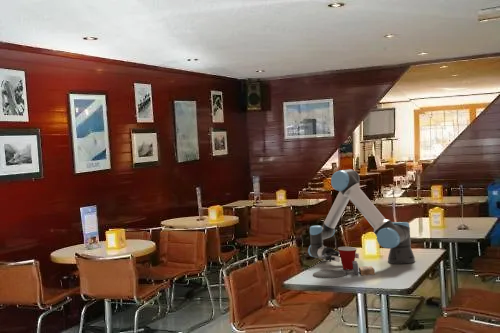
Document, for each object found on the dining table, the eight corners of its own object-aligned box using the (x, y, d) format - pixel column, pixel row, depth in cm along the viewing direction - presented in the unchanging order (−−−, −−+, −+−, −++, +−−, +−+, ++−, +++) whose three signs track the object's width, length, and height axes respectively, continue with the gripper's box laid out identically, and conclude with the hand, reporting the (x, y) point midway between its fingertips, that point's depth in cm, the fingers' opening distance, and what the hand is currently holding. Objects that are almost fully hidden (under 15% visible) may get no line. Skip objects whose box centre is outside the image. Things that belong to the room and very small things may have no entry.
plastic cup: (358, 270, 309) (356, 248, 309) (338, 271, 311) (337, 249, 311) (358, 266, 320) (357, 245, 320) (339, 267, 322) (338, 246, 322)
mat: (345, 270, 312) (345, 269, 312) (347, 277, 294) (347, 276, 294) (313, 271, 314) (313, 270, 314) (312, 278, 296) (312, 277, 296)
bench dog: (357, 271, 306) (356, 260, 306) (358, 274, 298) (357, 263, 298) (353, 271, 306) (352, 261, 306) (353, 275, 298) (353, 263, 298)
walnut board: (372, 271, 306) (371, 266, 306) (374, 275, 296) (374, 269, 296) (359, 272, 307) (358, 266, 307) (361, 276, 297) (361, 270, 297)
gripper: (308, 249, 328) (330, 254, 309) (343, 244, 339) (365, 248, 321) (309, 262, 328) (331, 267, 309) (343, 256, 339) (366, 261, 321)
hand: (348, 257), depth 315 cm, fingers open, 13 cm apart
